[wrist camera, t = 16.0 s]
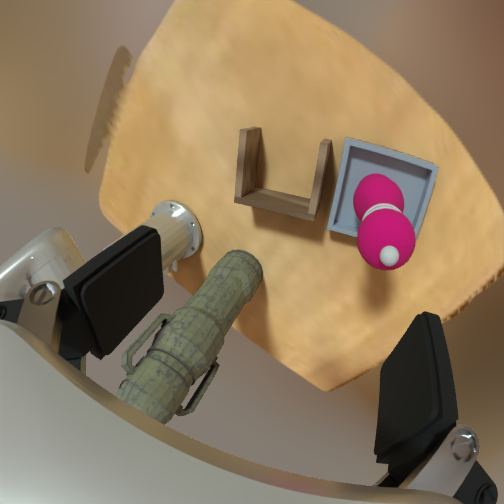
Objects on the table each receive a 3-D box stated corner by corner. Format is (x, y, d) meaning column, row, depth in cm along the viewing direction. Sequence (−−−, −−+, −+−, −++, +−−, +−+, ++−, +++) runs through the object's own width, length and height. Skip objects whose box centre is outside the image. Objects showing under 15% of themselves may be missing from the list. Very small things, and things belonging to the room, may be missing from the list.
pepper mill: (349, 210, 40) (340, 286, 24) (357, 165, 36) (358, 211, 20) (393, 220, 38) (413, 302, 22) (403, 176, 34) (440, 231, 18)
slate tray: (407, 244, 40) (410, 252, 37) (328, 221, 43) (326, 229, 41) (433, 163, 32) (438, 167, 30) (345, 136, 36) (345, 138, 33)
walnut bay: (319, 207, 42) (313, 221, 38) (248, 191, 45) (234, 202, 41) (331, 140, 37) (327, 144, 32) (254, 126, 40) (240, 129, 35)
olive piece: (231, 234, 51) (97, 381, 22) (277, 277, 52) (185, 447, 23) (208, 260, 56) (90, 391, 28) (250, 299, 57) (160, 445, 29)
